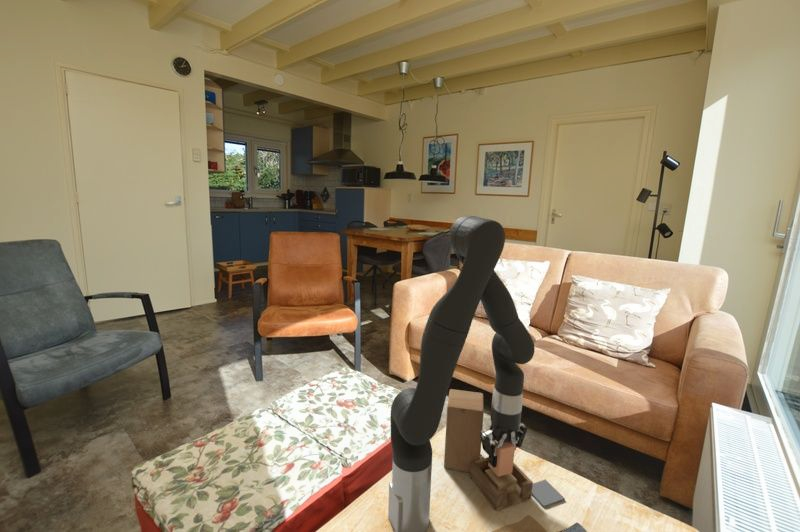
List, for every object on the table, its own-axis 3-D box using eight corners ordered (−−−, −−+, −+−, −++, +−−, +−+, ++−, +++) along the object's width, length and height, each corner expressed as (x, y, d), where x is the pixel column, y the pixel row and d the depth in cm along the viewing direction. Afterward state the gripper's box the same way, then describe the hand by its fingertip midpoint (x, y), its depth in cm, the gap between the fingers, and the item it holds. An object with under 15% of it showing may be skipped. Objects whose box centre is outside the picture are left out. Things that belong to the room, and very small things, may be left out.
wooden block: (478, 474, 107) (483, 411, 103) (443, 468, 109) (447, 406, 105) (478, 451, 117) (483, 392, 113) (446, 446, 119) (449, 388, 115)
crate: (496, 510, 95) (497, 493, 94) (470, 477, 106) (471, 461, 105) (530, 498, 99) (532, 482, 98) (502, 467, 110) (504, 452, 109)
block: (498, 476, 99) (501, 449, 97) (488, 465, 103) (490, 439, 101) (512, 472, 100) (515, 445, 99) (501, 461, 105) (504, 435, 103)
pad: (543, 507, 97) (543, 505, 96) (525, 488, 103) (525, 486, 103) (564, 500, 99) (564, 498, 99) (545, 481, 105) (545, 479, 105)
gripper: (492, 418, 92) (486, 479, 95) (538, 408, 97) (531, 466, 101) (475, 402, 99) (470, 460, 102) (519, 393, 104) (513, 448, 107)
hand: (500, 462), depth 101 cm, fingers closed on block, 4 cm apart
